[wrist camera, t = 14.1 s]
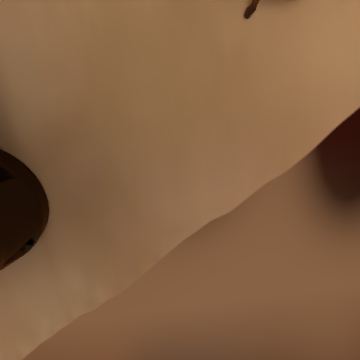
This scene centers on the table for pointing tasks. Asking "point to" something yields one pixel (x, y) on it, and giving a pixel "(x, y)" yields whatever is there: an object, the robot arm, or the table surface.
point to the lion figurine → (251, 8)
